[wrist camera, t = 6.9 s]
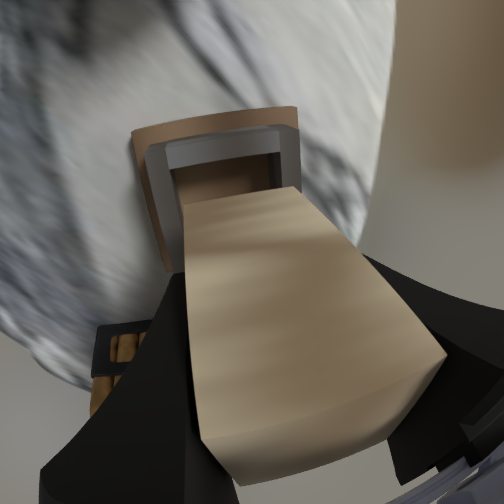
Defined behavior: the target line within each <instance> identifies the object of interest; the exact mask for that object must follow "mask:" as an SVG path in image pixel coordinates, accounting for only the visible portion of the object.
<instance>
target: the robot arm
mask: <svg viewBox="0 0 504 504" xmlns="http://www.w3.org/2000/svg"><path fill="white" fill-rule="evenodd" d="M361 254H362V253H361ZM362 255H363V256H364V257H365V258H366V259H367V260H368V261H369V262H370V264H371V265H372V266H373V267H374V268H375V269H376V270H377V271H378V272H379V273H380V275H381V276H382V277H383V278H384V279H385V280H386V281H387V282H388V283H389V285H390V286H391V287H392V288H393V289H394V290H395V291H396V293H397V294H398V295H399V296H400V297H401V298H402V299H403V301H404V302H405V303H406V304H407V305H408V306H409V308H410V309H411V310H412V311H413V312H414V314H415V315H416V316H417V317H418V318H419V320H420V321H421V322H422V323H423V324H424V326H425V327H426V328H427V329H428V331H429V332H430V333H431V334H432V336H433V337H434V338H435V339H436V341H437V342H438V343H439V344H440V346H441V347H442V348H443V350H444V351H445V352H446V354H447V357H446V359H445V360H444V362H443V364H442V365H441V367H440V368H439V370H438V371H437V373H436V375H435V376H434V378H433V379H432V381H431V382H430V384H429V385H428V387H427V388H426V389H425V391H424V392H423V394H422V395H421V396H420V398H419V399H418V401H417V402H416V403H415V405H414V406H413V407H412V409H411V410H410V411H409V413H408V414H407V415H406V416H405V418H404V419H403V420H402V421H401V423H400V424H399V425H398V426H397V427H396V429H395V430H394V431H393V432H392V433H391V435H390V436H389V437H388V438H387V441H388V444H389V448H390V452H391V456H392V460H393V464H394V467H395V472H396V477H397V479H398V481H399V483H400V485H401V486H402V485H404V484H406V483H408V482H410V481H411V480H413V479H415V478H417V477H419V476H420V475H422V474H424V473H425V472H427V471H429V470H430V469H432V468H433V467H435V466H436V468H437V470H438V472H439V473H438V474H436V475H435V476H433V477H432V478H430V479H429V480H427V481H426V482H424V483H422V484H421V485H419V486H417V487H415V488H414V489H412V490H410V491H409V492H407V493H405V494H403V495H401V496H399V497H397V498H396V499H394V500H392V501H390V502H388V503H386V504H429V503H431V502H433V501H434V500H436V499H437V498H439V497H440V496H441V495H443V494H444V493H446V492H447V491H448V492H447V493H446V494H445V495H444V496H442V497H441V498H440V499H439V500H438V501H437V504H504V310H500V309H496V308H491V307H487V306H483V305H479V304H476V303H473V302H469V301H466V300H463V299H459V298H457V297H454V296H451V295H448V294H446V293H443V292H441V291H438V290H436V289H433V288H431V287H428V286H426V285H424V284H421V283H419V282H417V281H415V280H413V279H411V278H409V277H407V276H404V275H402V274H400V273H398V272H396V271H394V270H392V269H391V268H389V267H387V266H385V265H383V264H381V263H379V262H377V261H375V260H373V259H371V258H369V257H368V256H366V255H364V254H362ZM478 467H479V470H478V472H477V473H476V474H474V475H473V476H471V477H469V478H467V479H466V480H464V479H465V478H466V477H467V476H469V475H470V474H471V473H472V472H473V471H475V470H476V469H477V468H478ZM462 480H464V481H462ZM461 481H462V482H461ZM460 482H461V483H460ZM458 483H459V484H458ZM457 484H458V485H457ZM454 486H455V487H454ZM39 504H239V501H238V497H237V494H236V491H235V487H234V484H233V480H232V477H231V476H230V474H229V473H228V472H227V471H226V470H225V469H224V467H223V466H222V465H221V464H220V463H219V461H218V460H217V459H216V458H215V457H214V455H213V454H212V453H211V452H210V450H209V449H208V448H207V446H206V445H205V444H204V443H203V441H202V440H201V435H200V428H199V421H198V414H197V406H196V398H195V390H194V381H193V372H192V362H191V352H190V340H189V328H188V314H187V298H186V279H185V272H181V273H176V274H173V276H172V277H171V279H170V282H169V284H168V287H167V289H166V292H165V294H164V296H163V299H162V301H161V303H160V306H159V308H158V310H157V312H156V314H155V316H154V318H153V320H152V323H151V325H150V327H149V329H148V331H147V332H146V334H145V336H144V338H143V340H142V342H141V344H140V346H139V348H138V349H137V351H136V353H135V355H134V356H133V358H132V360H131V361H130V363H129V365H128V366H127V368H126V369H125V371H124V373H123V374H122V376H121V377H120V379H119V380H118V382H117V383H116V384H115V386H114V387H113V389H112V390H111V392H110V393H109V394H108V396H107V397H106V399H105V400H104V401H103V403H102V404H101V405H100V407H99V408H98V409H97V411H96V412H95V413H94V414H93V415H92V416H91V418H90V419H89V420H88V421H87V422H86V424H85V425H84V426H83V427H82V428H81V430H80V431H79V432H78V433H77V434H76V435H75V436H74V438H73V439H72V440H71V441H70V442H69V443H68V444H67V445H66V446H65V447H64V448H63V449H62V450H61V451H60V452H59V453H58V454H56V455H55V456H54V457H53V458H52V459H51V460H50V461H49V462H48V463H47V464H46V465H45V466H44V467H43V468H42V469H41V470H40V482H39Z"/></svg>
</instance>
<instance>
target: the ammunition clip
mask: <svg viewBox="0 0 504 504" xmlns="http://www.w3.org/2000/svg"><path fill="white" fill-rule="evenodd" d="M152 320H153V319H152ZM152 320H144V321H137V322H129V323H120V324H111V325H102V326H99V327H98V329H97V335H96V341H95V347H94V354H93V361H92V369H91V377H92V378H93V386H92V393H91V402H90V418H91V416H92V415H93V414H94V413H95V412H96V411H97V409H98V408H99V407H100V405H101V404H102V403H103V401H104V400H105V399H106V397H107V396H108V394H109V393H110V392H111V390H112V389H113V387H114V386H115V384H116V383H117V382H118V380H119V379H120V377H121V376H122V374H123V373H124V371H125V369H126V368H127V366H128V365H129V363H130V361H131V360H132V358H133V356H134V355H135V353H136V351H137V349H138V348H139V346H140V344H141V342H142V340H143V338H144V336H145V334H146V332H147V331H148V329H149V327H150V325H151V323H152Z"/></svg>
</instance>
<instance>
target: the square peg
mask: <svg viewBox="0 0 504 504" xmlns="http://www.w3.org/2000/svg"><path fill="white" fill-rule="evenodd" d="M184 255H185V279H186V298H187V314H188V328H189V340H190V352H191V362H192V372H193V381H194V390H195V398H196V406H197V414H198V421H199V428H200V435H201V440H202V441H203V443H204V444H205V445H206V446H207V448H208V449H209V450H210V452H211V453H212V454H213V455H214V457H215V458H216V459H217V460H218V461H219V463H220V464H221V465H222V466H223V467H224V469H225V470H226V471H227V472H228V473H229V474H230V476H231V477H232V478H233V479H234V480H235V481H236V482H237V484H239V486H246V485H252V484H256V483H261V482H266V481H270V480H274V479H279V478H283V477H286V476H290V475H294V474H297V473H301V472H304V471H307V470H311V469H314V468H317V467H320V466H323V465H326V464H329V463H331V462H334V461H337V460H340V459H342V458H345V457H348V456H350V455H353V454H355V453H357V452H360V451H362V450H365V449H367V448H369V447H371V446H374V445H376V444H378V443H380V442H382V441H384V440H386V439H387V438H388V437H389V436H390V435H391V433H392V432H393V431H394V430H395V429H396V427H397V426H398V425H399V424H400V423H401V421H402V420H403V419H404V418H405V416H406V415H407V414H408V413H409V411H410V410H411V409H412V407H413V406H414V405H415V403H416V402H417V401H418V399H419V398H420V396H421V395H422V394H423V392H424V391H425V389H426V388H427V387H428V385H429V384H430V382H431V381H432V379H433V378H434V376H435V375H436V373H437V371H438V370H439V368H440V367H441V365H442V364H443V362H444V360H445V359H446V357H447V354H446V352H445V351H444V350H443V348H442V347H441V346H440V344H439V343H438V342H437V341H436V339H435V338H434V337H433V336H432V334H431V333H430V332H429V331H428V329H427V328H426V327H425V326H424V324H423V323H422V322H421V321H420V320H419V318H418V317H417V316H416V315H415V314H414V312H413V311H412V310H411V309H410V308H409V306H408V305H407V304H406V303H405V302H404V301H403V299H402V298H401V297H400V296H399V295H398V294H397V293H396V291H395V290H394V289H393V288H392V287H391V286H390V285H389V283H388V282H387V281H386V280H385V279H384V278H383V277H382V276H381V275H380V273H379V272H378V271H377V270H376V269H375V268H374V267H373V266H372V265H371V264H370V262H369V261H368V260H367V259H366V258H365V257H364V256H363V255H362V254H361V253H360V252H359V251H358V250H357V249H356V248H355V247H354V246H353V244H352V243H351V242H350V241H349V240H348V239H347V238H346V237H345V236H344V235H343V234H342V233H341V232H340V231H339V230H338V229H337V228H336V227H335V226H334V225H333V224H332V223H331V222H330V221H329V220H328V219H327V218H326V217H325V216H324V215H323V214H322V213H321V212H320V211H319V210H318V209H317V208H316V207H315V206H314V205H313V204H312V203H311V202H310V201H309V200H307V199H306V198H305V197H304V196H303V195H302V194H301V193H300V192H299V191H298V190H297V189H296V188H295V187H294V186H291V187H284V188H278V189H271V190H265V191H259V192H253V193H247V194H241V195H235V196H229V197H224V198H218V199H213V200H208V201H203V202H197V203H192V204H187V205H184Z"/></svg>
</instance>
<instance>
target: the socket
mask: <svg viewBox="0 0 504 504" xmlns="http://www.w3.org/2000/svg"><path fill="white" fill-rule="evenodd" d="M131 135H132V140H133V145H134V150H135V154H136V159H137V164H138V168H139V172H140V177H141V181H142V185H143V189H144V194H145V198H146V202H147V205H148V209H149V213H150V217H151V221H152V224H153V228H154V232H155V235H156V239H157V242H158V246H159V249H160V252H161V256H162V259H163V262H164V265H165V269H166V272H172V271H174V274H176V273H181V272H185V255H184V205H187V204H192V203H197V202H203V201H208V200H213V199H218V198H224V197H229V196H235V195H241V194H247V193H253V192H259V191H265V190H271V189H278V188H284V187H291V186H294V187H295V188H296V189H297V190H298V191H299V192H300V193H301V194H302V190H301V159H300V137H299V129H298V115H297V107H293V106H285V107H271V108H259V109H249V110H240V111H232V112H224V113H217V114H211V115H204V116H198V117H193V118H187V119H182V120H176V121H172V122H167V123H162V124H157V125H153V126H149V127H144V128H140V129H136V130H134V131H132V132H131Z"/></svg>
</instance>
